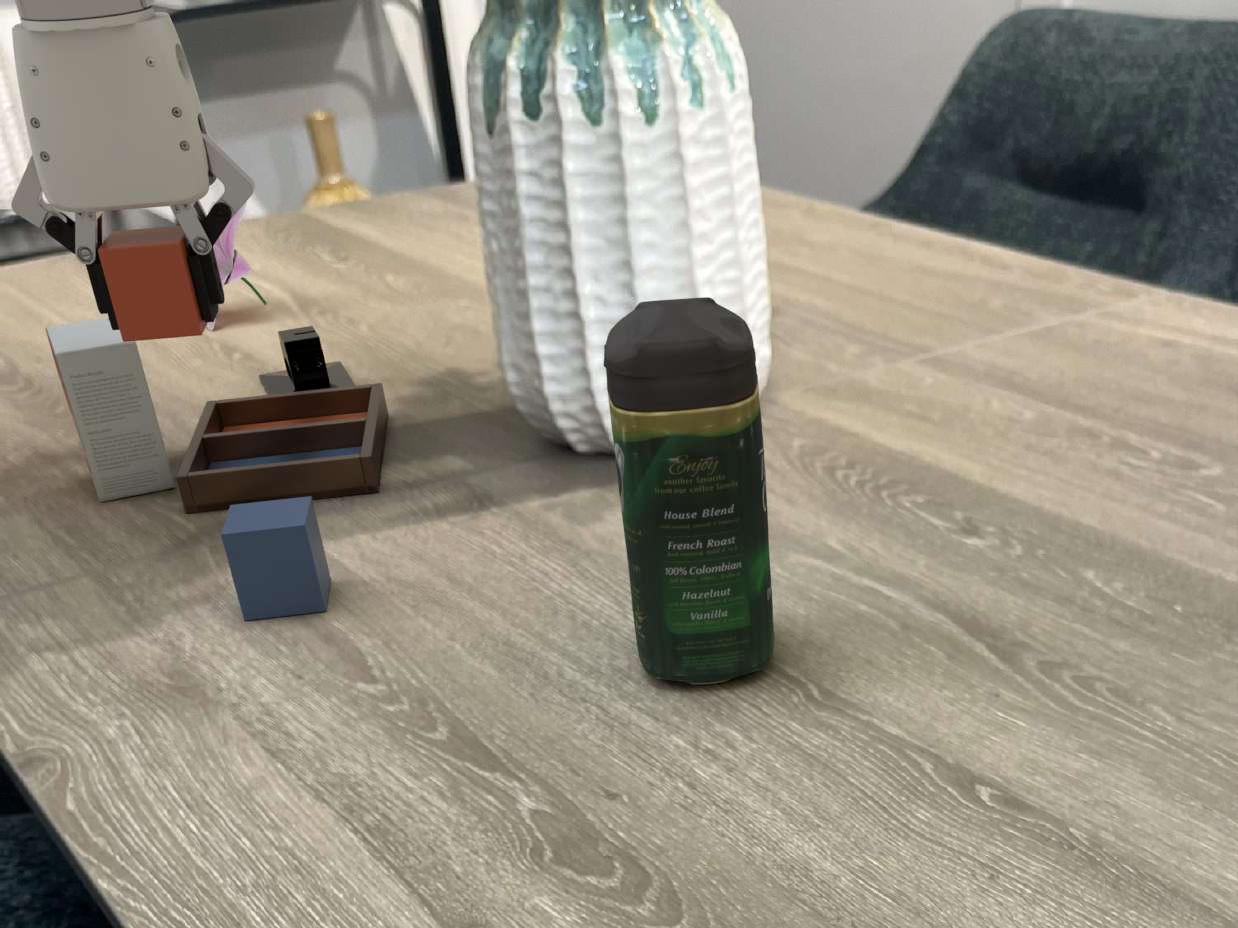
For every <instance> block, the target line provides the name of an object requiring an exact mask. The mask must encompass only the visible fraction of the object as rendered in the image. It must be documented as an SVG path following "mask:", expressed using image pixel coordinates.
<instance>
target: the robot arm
mask: <svg viewBox="0 0 1238 928" xmlns="http://www.w3.org/2000/svg"><path fill="white" fill-rule="evenodd" d="M14 2H15V5H16V10H17V12H18V16H19V20H20V23H16V24H15V25H13V27H12V28H11V36H12V44H13V45H12V48H13V56H14V57H13V58H14V64H15V71H16V78H17V84H18V90H19V95H20V101H21V107H22V112H23V118H24V123H25V127H26V131H27V137H28V141H29V145H30V150H31V153H32V154H31V156H30V159H29V161H28V163H27V166H26V167H25V170H24V172H23V174H22V177H21V180H20V181H19V184H18V186H17V188H16V191H15V193H14V195H13V198H12V200H11V204H10V207H11V210H12V212H14V213H15V214H16V215H17V216H19V217H20V218H22V219H24V220H25V221H27V222H29V223H30V224H32V225H33V226H34V227H37V228H38V229H41V230H43V231H44V232H46V233H47V234H48V235H49V236H50V238H52V239H54V240H55V241H56V242H57V243H59V244H60V245H61V246H63V247H64V248H66V249H67V250H68V251H70V252H71V253H72V254H74V255H75V256H76V259H77V260H78V262H80V263H81V264H83V265H85V268H86V271H87V275H88V278H89V282H90V285H91V289H92V293H93V297H94V300H95V303H96V307H97V309H98V312H99V314H100V315H104V314H105V315H106V314H107V318H108V317H109V321H110V324H111V327H112V329H113V330H119V326H118V322H117V319H116V315H115V311H114V308H113V304H112V301H111V297H110V293H109V290H108V286H107V282H106V279H105V275H104V271H103V268H102V264H101V261H100V257H99V253H98V249H99V248H100V247H101V245H102V244H103V243H104V238H105V237H104V231H105V230H104V225H105V221H104V220H105V218H104V217H105V216H104V215H105V212H111V211H122V210H123V211H125V210H136V209H149V208H161V207H170V210H171V211H172V213H173V216H174V217H175V218H176V220H177V222H178V224H179V226H181V228H182V230H183V232H184V233H185V235H186V237H187V239H188V241H189V244H188V246H189V251H190V255H189V256H188V258H187V261H188V266H189V270H190V274H191V278H192V282H193V287H194V291H195V295H196V299H197V303H198V307H199V311H200V315H201V319H202V321H203V320H204V321H205V322H214V320H215V318H216V319H217V316H218V313H219V311H220V308H219V305H223V304H225V301H226V299H225V298H226V297H225V291H224V286H223V287H222V283H221V278H220V274H219V270H218V266H217V261H216V257H215V253H214V249H213V246H214V244H215V243H216V241H217V240H218V238H219V237H220V235H221V233H222V232H223V230H224V229H225V227H226V226H227V224H228V223H229V221H230V220H231V219H232V218H233V216H234V215H235V214H236V213H237V212H238V211H239V209H240V208H241V207H242V206H243V205H244V204H245V202H246V201H248V200H249V199H250V198H251V197H252V195H253V193H254V192H255V189H256V184H255V181H254V180H253V178H251V176H249V175H248V173H247V172H245V171H244V170H243V169H242V168H241V167H240V166H239V165H238V164H237V163H236V162H235V161H234V160H233V159H232V158H231V157H230V156H229V155H228V154H227V153H226V152H225V151H224V150H223V149H222V148H221V147H220V146H219V145H218V144H217V143H216V142H215V141H213V140H212V138H211V136H210V133H209V129H208V126H207V122H206V119H205V115H204V112H203V111H204V110H203V108H202V104H201V101H200V97H199V94H198V91H197V87H196V83H195V80H194V77H193V74H192V72H191V68H190V66H189V63H188V59H187V56H186V53H185V51H184V48H183V45H182V43H181V40H180V37H179V35H178V32H177V30H176V27H175V25H174V22H173V21H172V19H171V16H170V14H169V13H168V12H165V11H155V10H154V5H153V4H154V3H155V0H14ZM217 180H219V181H220V182H221V184H222V185H223V187H224V191H223V193H222V194H221V195H220V196H219V198H218V199H217V200H216V201H214V202H215V204H214V205H213V207H212V208H211V210H210V211H209V210H208V212H209V213H208V212H207V213H206V211H205V209H204V207H203V204H202V203H201V201H200V200H202V199H203V198H205V196H207V194H208V193H209V190H210V187H211V186H212V185H213V184H214V183H215V182H216V181H217ZM43 195H44V197H45V199H46V200H47V202H48V203H49V204H48V203H47V202H45V200H44V197H43ZM53 207H54V208H56V209H58V210H60V211H63V212H60V211H57V210H56V209H54V208H53ZM64 212H67V213H74V220H73V219H72V218H70V216H68V215H67V214H65V213H64ZM215 321H216V320H215Z"/></svg>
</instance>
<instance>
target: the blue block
mask: <svg viewBox="0 0 1238 928" xmlns="http://www.w3.org/2000/svg"><path fill="white" fill-rule="evenodd" d="M317 518H318V517H317V513H316V510H315V505H314V501H313V499H312V497H311V496H308V497H299V498H290V499H281V500H272V501H263V502H254V503H245V504H236V505H230V508H229V509H228V510H227V514H226V517H225V520H224V523H223V527H222V529H221V532H220V537H221V541H222V545H223V548H224V552H225V555H226V559H227V563H228V566H229V570H230V575H231V578H232V581H233V585H234V589H235V593H236V595H237V600H238V603H239V607H240V610H241V614H242V618H243V621H245V622H246V621H247V622H248V621H254V620H255V621H256V620H263V619H272V618H281V617H288V616H297V615H306V614H315V613H323V612H324V613H325V612H327V606H328V601H329V595H330V591H331V585H332V584H331V583H332V578H331V572H330V569H329V565H328V561H327V557H326V553H325V547H324V543H323V539H322V535H321V530H320V526H319V523H318V519H317Z"/></svg>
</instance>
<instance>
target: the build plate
mask: <svg viewBox="0 0 1238 928" xmlns="http://www.w3.org/2000/svg"><path fill="white" fill-rule="evenodd" d="M277 336H278V339H279V345H280V349H281V353H282V357H283V361H284V365H285V369H284V370H278V371H272V372H267V373H261V374H259V375H258V379H259V381H260V383H261V385H262V387H263V389H264V391H265V393H266V395H271V394H280V393H290V392H299V391H309V390H318V389H328V388H337V387H346V386H356V383H355V381H354V380H353V379H352V377H351V376H350V374H349V373H348V371H347V369H346V368H345V366H344V365H343V363H342V362H341V361H340V360H339V361H338V360H337V361H332V362H326V359H325V354H324V350H323V347H322V343H321V338H320V335H319V334H318V332H317V331H316V329H315V327H314V326H313V325H309V326H303V327H297V328H291V329H285V330H278V331H277Z"/></svg>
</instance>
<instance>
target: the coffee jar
mask: <svg viewBox="0 0 1238 928" xmlns="http://www.w3.org/2000/svg"><path fill="white" fill-rule="evenodd" d="M606 337H607V338H606V341H605V343H604V346H603V367H604V368H605V372H606V389H607V398H608V407H609V416H610V424H611V433H612V442H613V450H614V460H615V467H616V477H617V486H618V496H619V500H620V501H619V502H620V509H621V518H622V526H623V534H624V541H625V549H626V560H627V564H628V565H627V567H628V577H629V587H630V595H631V596H630V597H631V609H632V615H633V623H634V634H635V639H636V646H637V647H636V649H637V654H638V658H639V661H640V663H641V665H642V668H643V669H644V670H645V672H646V673H647V674H648V675H649V676H651V677H652V678H654V679H657V680H658V679H659V680H666V681H667V680H668V681H673V682H681V683H687V684H690V685H714V684H720V683H725V682H728V681H730V680H732V679H735V678H737V677H741V676H744V675H748V674H751V673H754V672H757V671H761V670H763V669H764V668H765V667H766V666H767V665H768V664H769V662H770V661H771V659H772V656H773V653H774V649H775V647H774V646H775V632H774V631H775V628H774V626H775V625H774V605H773V603H774V602H773V589H772V571H771V558H770V539H769V517H768V516H769V514H768V494H767V492H768V491H767V478H766V477H767V476H766V473H767V472H766V463H765V446H764V435H763V434H764V433H763V423H762V422H763V421H762V412H761V401H760V387H759V378H758V372H757V371H758V369H757V356H756V350H755V346H754V338H753V334H752V331H751V329H750V327H749V325H748V323H747V321H745V319H744V318H742V317H741V316H739V315H738V314H737V313H735V312H733V311H732V310H730V309H728V308H726V307H725V306H722V305H720V304H719V303H717V302H716V301H715V299H714V298H712V297H708V296H707V297H687V298H673V299H660V300H659V299H658V300H647V301H646V300H645V301H640V302H639V303H638V304H637V305H636V306H635V307H634V309H633V310H631V311H630V312H629V313H627V314H626V315H625V316H623V317H622V318H621V319H619V320H618V321H617V322H616V323H615V324H614V325H613V326H612V328H611V329H610V330H609V331H608V333H607V336H606Z"/></svg>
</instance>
